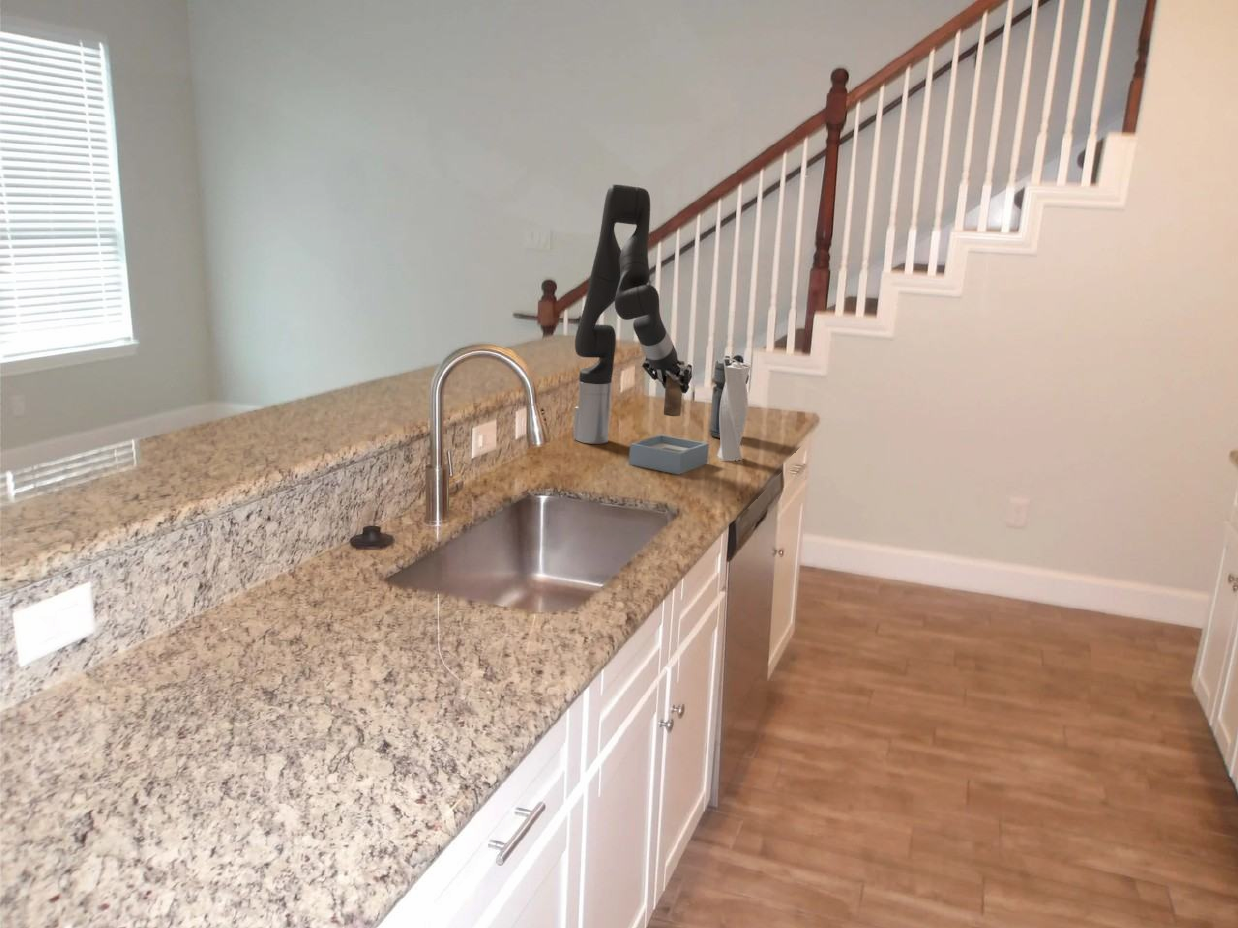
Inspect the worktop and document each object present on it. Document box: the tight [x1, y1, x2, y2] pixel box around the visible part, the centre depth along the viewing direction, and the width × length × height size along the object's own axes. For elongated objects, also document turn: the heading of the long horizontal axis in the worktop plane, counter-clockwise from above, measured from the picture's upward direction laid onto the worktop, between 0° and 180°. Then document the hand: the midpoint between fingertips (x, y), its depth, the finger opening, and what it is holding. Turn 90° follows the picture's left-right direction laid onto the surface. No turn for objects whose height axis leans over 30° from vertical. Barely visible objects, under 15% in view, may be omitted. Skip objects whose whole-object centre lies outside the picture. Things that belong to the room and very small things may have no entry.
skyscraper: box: [716, 357, 751, 462], centre depth 264 cm, size 8×8×28 cm
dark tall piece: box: [709, 354, 750, 439], centre depth 293 cm, size 10×13×25 cm
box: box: [628, 434, 710, 476], centre depth 258 cm, size 15×16×6 cm
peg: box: [663, 360, 685, 417], centre depth 253 cm, size 4×4×14 cm
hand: (677, 389), depth 255 cm, fingers closed on peg, 4 cm apart
